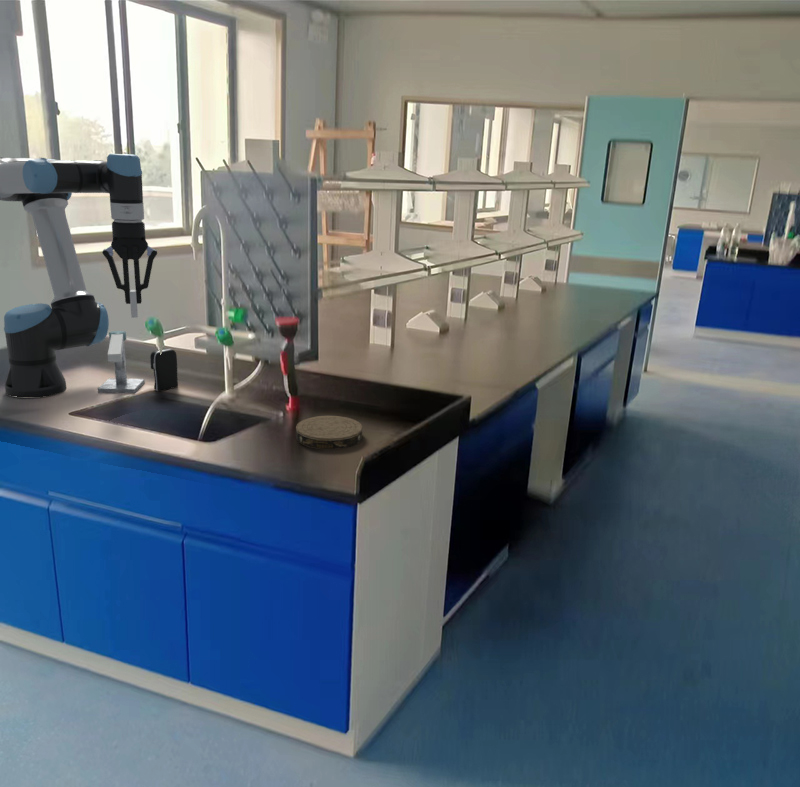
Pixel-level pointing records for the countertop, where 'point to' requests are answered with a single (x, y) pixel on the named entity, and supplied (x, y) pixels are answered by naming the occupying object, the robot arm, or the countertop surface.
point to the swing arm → (116, 345)
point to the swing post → (121, 380)
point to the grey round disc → (329, 432)
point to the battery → (164, 369)
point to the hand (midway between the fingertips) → (134, 316)
